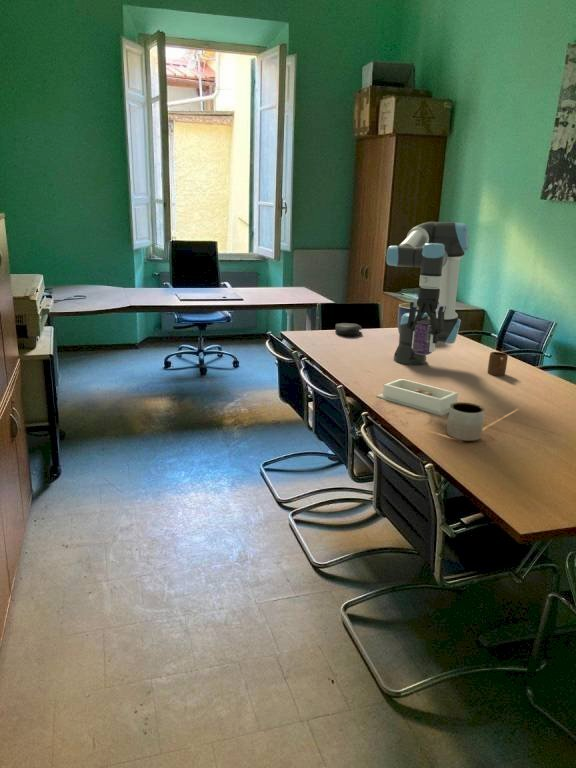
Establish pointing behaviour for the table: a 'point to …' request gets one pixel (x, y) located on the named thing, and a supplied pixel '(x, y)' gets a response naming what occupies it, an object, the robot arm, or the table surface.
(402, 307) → the planter
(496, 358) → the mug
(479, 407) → the planter
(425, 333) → the beverage can
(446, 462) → the table surface
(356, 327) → the dark grey rounded block
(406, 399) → the white rectangular tray
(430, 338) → the robot arm
